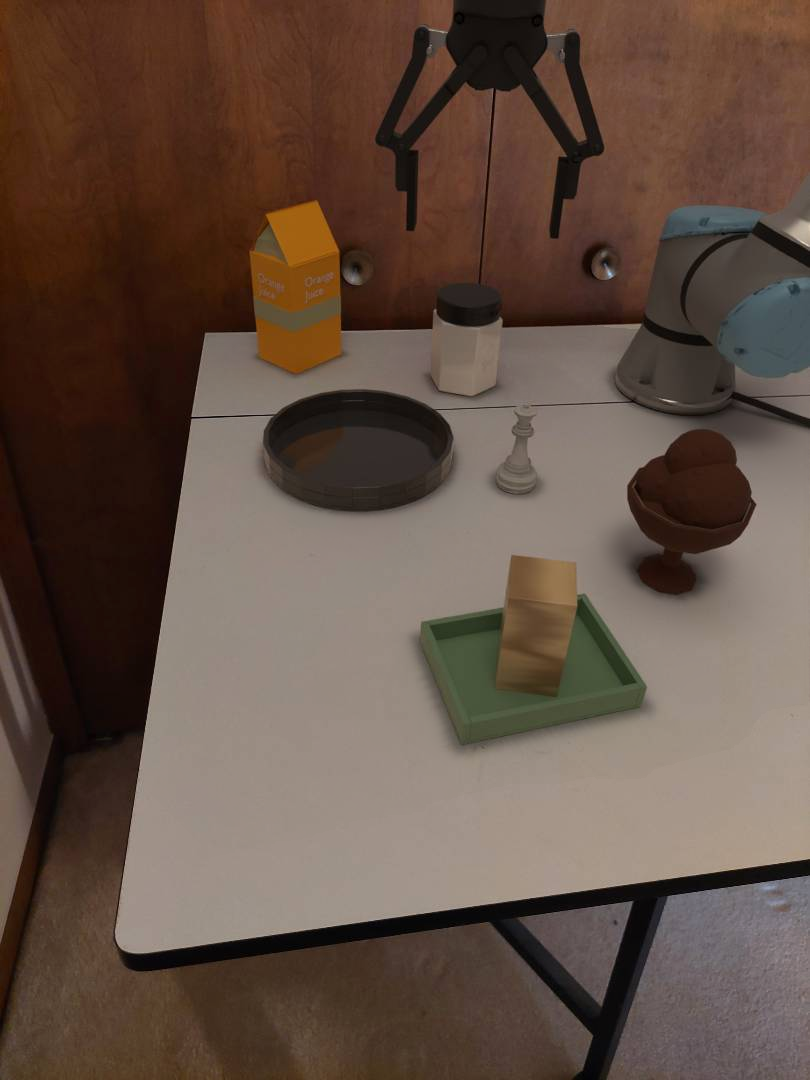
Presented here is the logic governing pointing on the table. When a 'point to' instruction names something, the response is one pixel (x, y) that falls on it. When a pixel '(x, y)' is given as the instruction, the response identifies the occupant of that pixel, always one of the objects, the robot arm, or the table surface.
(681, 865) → the table surface
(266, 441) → the pan
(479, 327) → the jar
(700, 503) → the ice cream bowl
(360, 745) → the table surface
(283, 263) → the orange juice
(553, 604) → the block
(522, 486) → the chess piece
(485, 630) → the tray
